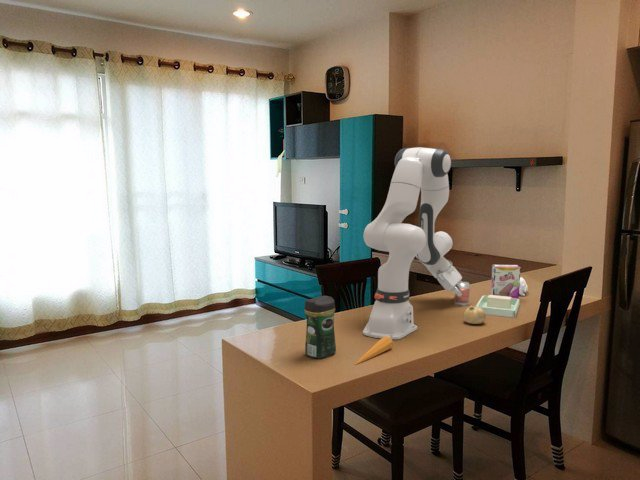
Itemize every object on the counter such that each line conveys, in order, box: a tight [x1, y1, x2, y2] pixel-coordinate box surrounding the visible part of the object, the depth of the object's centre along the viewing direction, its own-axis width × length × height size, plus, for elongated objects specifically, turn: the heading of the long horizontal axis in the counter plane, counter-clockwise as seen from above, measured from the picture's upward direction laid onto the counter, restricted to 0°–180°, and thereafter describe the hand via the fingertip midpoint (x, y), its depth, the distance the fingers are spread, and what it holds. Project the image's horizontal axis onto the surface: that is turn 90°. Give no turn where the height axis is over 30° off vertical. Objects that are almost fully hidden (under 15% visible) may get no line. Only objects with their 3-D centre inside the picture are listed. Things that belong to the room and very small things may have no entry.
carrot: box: [354, 336, 394, 366], centre depth 156 cm, size 20×4×4 cm, turn 141°
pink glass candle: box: [453, 280, 471, 307], centre depth 213 cm, size 6×6×10 cm
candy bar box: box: [490, 264, 522, 299], centre depth 218 cm, size 11×5×16 cm, turn 84°
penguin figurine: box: [519, 276, 529, 297], centre depth 233 cm, size 6×8×12 cm
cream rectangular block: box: [487, 294, 511, 309], centre depth 209 cm, size 5×9×4 cm, turn 64°
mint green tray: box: [474, 295, 520, 319], centre depth 205 cm, size 20×15×4 cm
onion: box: [463, 305, 487, 325], centre depth 189 cm, size 8×8×7 cm
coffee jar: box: [304, 295, 337, 359], centre depth 157 cm, size 10×8×19 cm
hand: (463, 292), depth 213 cm, fingers open, 8 cm apart
